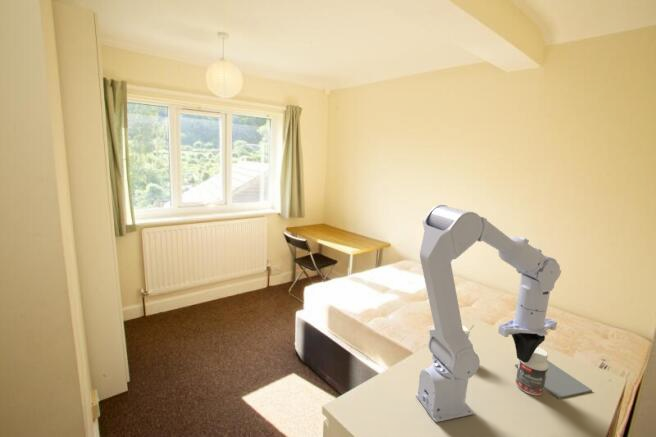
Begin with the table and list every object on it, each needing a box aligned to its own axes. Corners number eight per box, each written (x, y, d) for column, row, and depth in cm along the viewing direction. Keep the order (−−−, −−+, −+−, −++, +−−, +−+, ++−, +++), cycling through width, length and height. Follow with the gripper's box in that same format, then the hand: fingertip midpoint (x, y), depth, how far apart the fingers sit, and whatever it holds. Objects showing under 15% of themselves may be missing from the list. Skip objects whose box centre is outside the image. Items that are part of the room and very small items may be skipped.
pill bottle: (514, 389, 75) (521, 352, 73) (515, 376, 80) (521, 340, 78) (543, 400, 72) (551, 361, 70) (542, 385, 77) (549, 348, 75)
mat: (557, 398, 73) (558, 397, 73) (514, 365, 84) (515, 364, 84) (591, 391, 75) (592, 389, 75) (545, 360, 87) (545, 359, 87)
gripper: (520, 317, 65) (511, 375, 68) (573, 310, 69) (563, 366, 72) (494, 302, 72) (487, 356, 74) (544, 297, 76) (535, 348, 78)
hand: (522, 359), depth 74 cm, fingers closed
